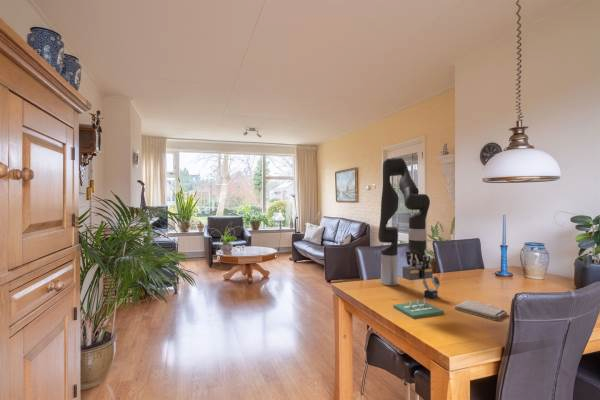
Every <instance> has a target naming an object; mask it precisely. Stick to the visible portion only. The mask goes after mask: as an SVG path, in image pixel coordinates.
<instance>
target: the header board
mask: <svg viewBox="0 0 600 400" xmlns="http://www.w3.org/2000/svg"><path fill="white" fill-rule="evenodd" d="M392 307H393V308H394V309H395V310H396V311H399V312H401V313H402V314H404V315H407V316H408V317H409V318H411V319H418V318H425V317H426V318H427V317H430V316H438V315H444V314H445V311H444V310H442V309H440V308H438V307H436V306H434V305H432V304H429V303H427V302H426V299H425V298H423V300H420V299H417V300H416V301H412V300H409V302H405V303H399V304H398V303H397V304H393V306H392Z"/></svg>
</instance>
